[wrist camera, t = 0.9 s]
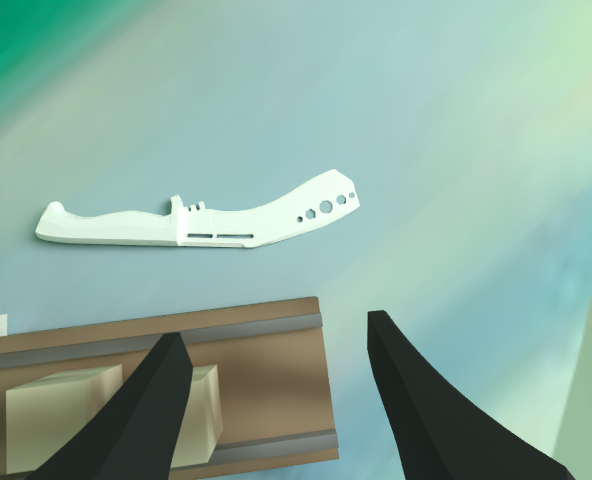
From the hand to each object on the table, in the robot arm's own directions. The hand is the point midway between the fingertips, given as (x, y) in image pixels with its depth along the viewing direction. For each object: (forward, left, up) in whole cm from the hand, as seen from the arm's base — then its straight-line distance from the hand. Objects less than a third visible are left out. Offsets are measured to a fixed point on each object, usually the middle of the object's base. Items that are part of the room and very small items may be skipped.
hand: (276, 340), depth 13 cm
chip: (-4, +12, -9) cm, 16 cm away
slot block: (-4, +8, -12) cm, 15 cm away
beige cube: (-4, +6, -9) cm, 12 cm away
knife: (+9, +2, -13) cm, 16 cm away
